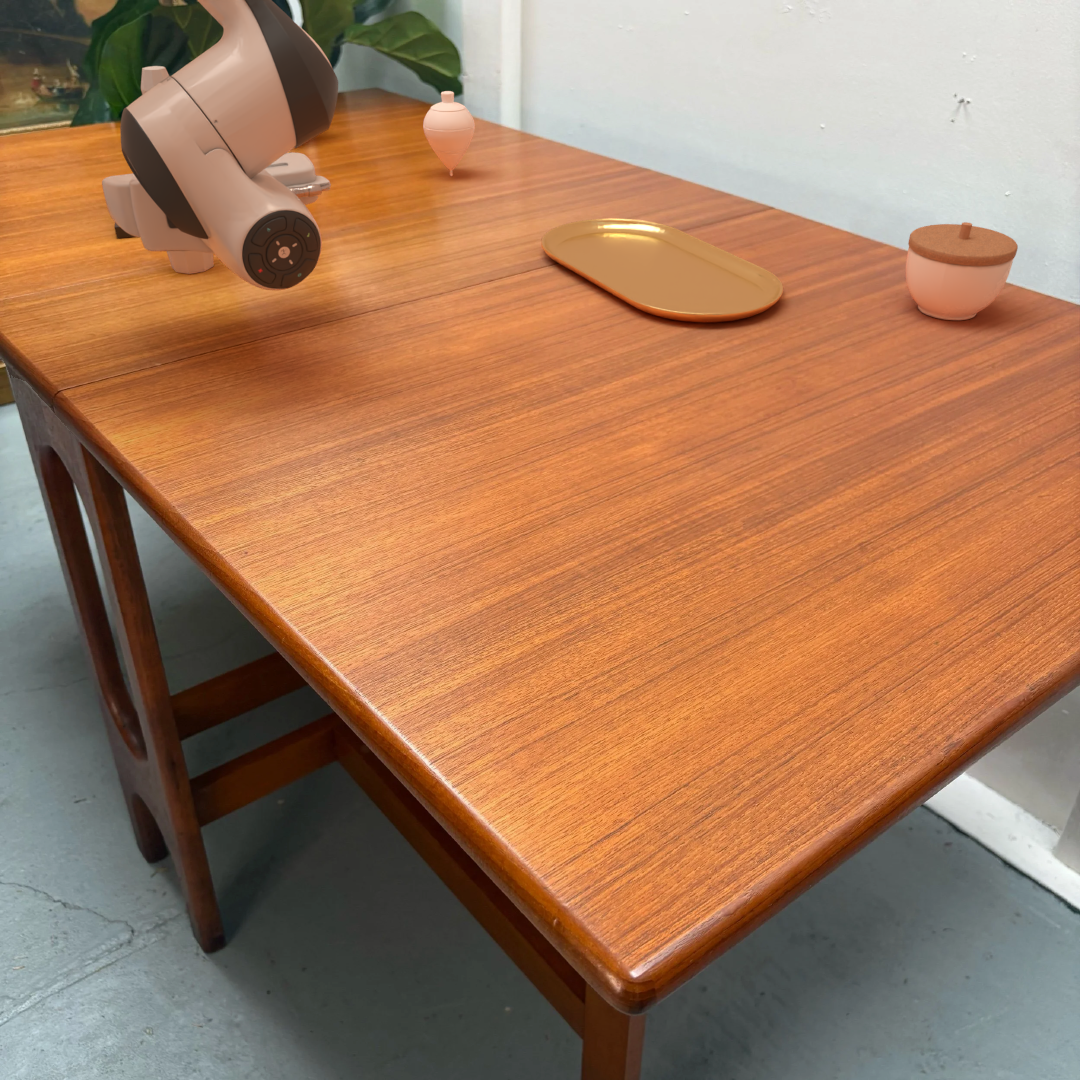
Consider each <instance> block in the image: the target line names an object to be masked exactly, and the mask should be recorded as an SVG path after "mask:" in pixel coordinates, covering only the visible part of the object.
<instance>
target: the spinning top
mask: <svg viewBox="0 0 1080 1080" xmlns="http://www.w3.org/2000/svg"><path fill="white" fill-rule="evenodd" d="M440 97H441V101H440V102H437V103H435V104H433V105H431V106H430V108H429V110H428V111H427V113H426V114H425V115H424V118H423V123H422V127H423V133H424V137H425V139H426V140H427V142H428V144H429V146H430V148H431V149H432V151H433V152H434V153H435V155H436V156H437V158H438V159H439V160H440V162H441V163H442V165H444V166H445V168H446V169H447V170H449V176H450V177H453V175H454V173H453V170H454V169H455V168H456V167H457V166H458V164H459V163H460V162H461V161H462V159H463V157H464V156H465V154H466V153H467V150H468V148H469V147H470V144H471V142H472V140H473V137H474V135H475V127H476V124H475V120H474V117H473V115H472V113H471V112H470V111H469V109H468V108H467V107H466V106H465V105H464V104H462V103H460V102H457V101H454V100H455V92H454V91H451V90H445V91H441V93H440Z"/></svg>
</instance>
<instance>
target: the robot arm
mask: <svg viewBox="0 0 1080 1080" xmlns="http://www.w3.org/2000/svg"><path fill="white" fill-rule="evenodd" d="M196 1H197V2H198V3H199V4H200V5H201V6H202V7H203V9H205V10H206V11H207V12H208V13H209V14H210V16H212V18H213V19H214V20H216V21H217V23H218V24H219V25H220V26H221V27H222V28H223V31H222V36H221V38H220V39H219V40H218V41H217V42H216V43H215V44H213V45H212V46H211V47H210V48H208V49H206V50H205V51H204V52H203V53H200V55H198V56H196V58H194V59H193V60H192V61H190V62H188V63H187V64H185V65H184V66H183V67H182V68H179V70H177V71H175V73H173V74H172V75H169V76H168V77H167V78H165V79H164V80H162V81H161V82H160V83H158V84H157V85H155V86H154V87H153V88H151V89H150V90H149V91H147V92H146V93H145V94H143V95H142V94H141V95H140V96H139V97H138V98H136V99H135V100H134V101H132V102H131V103H130V104H129V105H127V106H126V107H124V108H123V111H122V113H121V118H120V146H121V147H120V148H121V153H122V155H123V157H124V159H125V162H126V164H127V166H128V167H129V169H130V170H131V172H132V173H125V174H118V175H109V176H107V177H104V178H103V179H102V181H101V186H102V192H103V196H104V200H105V204H106V208H107V212H108V214H109V216H110V217H111V219H112V220H113V221H114V223H115V222H116V224H117V225H118V226H119V227H121V228H122V229H123V230H124V231H125V232H127V233H128V234H130V235H132V236H135V237H134V238H140V240H141V243H142V245H143V248H144V249H145V250H147V251H148V252H167V251H198V252H205V253H211V254H213V255H215V256H216V257H217V259H218V260H219V261H220V262H221V263H222V264H223V265H224V266H225V267H226V268H227V269H229V271H231V272H232V273H233V274H235V275H236V276H237V277H238V278H240V279H241V280H243V281H244V282H246V283H248V284H250V285H251V286H254V287H255V288H259V289H262V290H266V291H283V290H288V289H290V288H293V287H295V286H297V285H299V284H300V283H302V282H303V281H304V280H306V279H307V278H308V277H309V276H310V274H312V272H313V271H314V270H315V268H316V267H317V265H318V263H319V260H320V257H321V253H322V248H323V247H322V246H323V240H322V233H321V229H320V227H319V225H318V223H317V221H316V219H315V217H314V216H313V214H312V213H311V211H310V210H309V208H308V207H307V205H310V204H314V203H316V202H317V201H318V200H319V196H320V195H322V193H323V192H326V191H330V190H331V187H332V183H331V182H330V180H329V179H327V178H326V177H325V176H324V175H323V176H322V175H316V168H315V165H314V163H313V161H312V160H311V159H310V157H308V156H307V155H306V154H304V153H301V152H290V151H291V150H293V149H294V148H295V149H297V148H299V147H300V146H303V145H304V144H306V143H307V142H309V141H311V140H313V139H314V138H316V137H318V136H319V135H321V134H323V133H325V132H326V131H328V130H329V129H330V127H331V125H332V122H333V119H334V115H335V112H336V107H337V103H338V97H339V79H338V76H337V74H336V72H335V70H334V69H333V66H332V64H331V62H330V60H329V59H328V57H327V55H326V53H325V52H324V51H323V49H322V47H320V45H319V44H318V43H317V42H316V41H315V39H313V37H311V36H310V34H309V33H307V31H306V30H304V29H303V28H302V27H301V26H300V25H298V24H297V22H295V21H294V20H293V19H292V18H291V17H290V16H289V15H288V14H287V13H286V12H285V11H283V9H281V7H279V6H278V5H277V4H276V3H275V2H274V1H273V0H196Z"/></svg>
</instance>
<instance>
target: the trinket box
mask: <svg viewBox="0 0 1080 1080" xmlns="http://www.w3.org/2000/svg"><path fill="white" fill-rule="evenodd" d="M907 245H908V249H907V254H906V259H905V271H904V272H905V283H906V288H907V290H908V293H909V295H910V296H911V298H912V300H913V301H914V302H915V304H916V305H917V309H918V311H920V312H921V313H922V314H924V315H927V316H929V317H931V318H936V319H939V320H946V321H966V320H969V319H973V318H975V317H976V315H977V314H978V313H979V312H981V311H983V310H984V309H986V308H988V307H989V306H990V305H991V304H992V303H993V302H994V301H995V300H996V299H997V298H998V296H999V295H1000V294H1001V292H1002V291H1003V288H1004V286H1005V285H1006V282H1007V280H1008V278H1009V275H1010V273H1011V270H1012V266H1013V262H1014V259H1015V257H1016V255H1017V252H1018V243H1017V241H1015V240H1014V238H1012V237H1010V236H1009V235H1006V234H1005V233H1002V232H999V231H997V230H993V229H991V228H990V229H989V228H986V227H980V226H975V225H973V223H971V222H967V221H965V222H961V224H954V223H943V224H942V223H939V224H930V225H924V226H920V227H918V228H916V229H914V230H912V231H911V233H910V234H909V238H908V243H907Z"/></svg>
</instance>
